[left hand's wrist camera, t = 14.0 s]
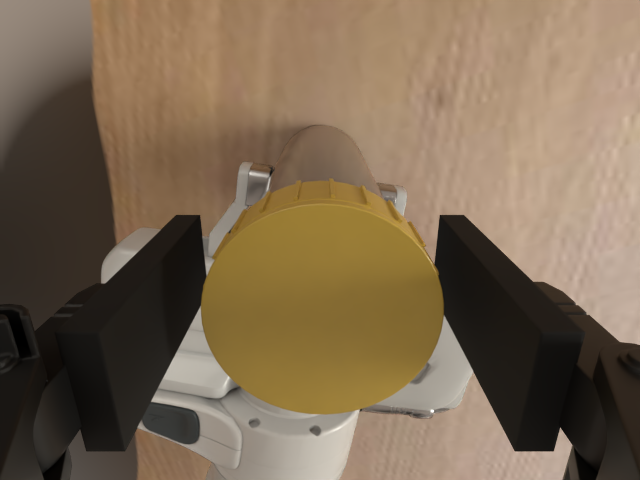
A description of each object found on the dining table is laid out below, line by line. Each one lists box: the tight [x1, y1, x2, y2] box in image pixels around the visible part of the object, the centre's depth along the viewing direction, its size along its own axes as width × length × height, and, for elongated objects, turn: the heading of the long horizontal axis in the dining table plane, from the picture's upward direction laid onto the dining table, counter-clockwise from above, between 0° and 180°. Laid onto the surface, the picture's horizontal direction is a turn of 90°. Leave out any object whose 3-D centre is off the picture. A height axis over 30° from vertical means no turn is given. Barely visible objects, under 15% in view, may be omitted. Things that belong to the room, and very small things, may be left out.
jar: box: [257, 125, 386, 202], centre depth 18 cm, size 5×5×17 cm
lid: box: [201, 178, 444, 415], centre depth 11 cm, size 6×6×2 cm
